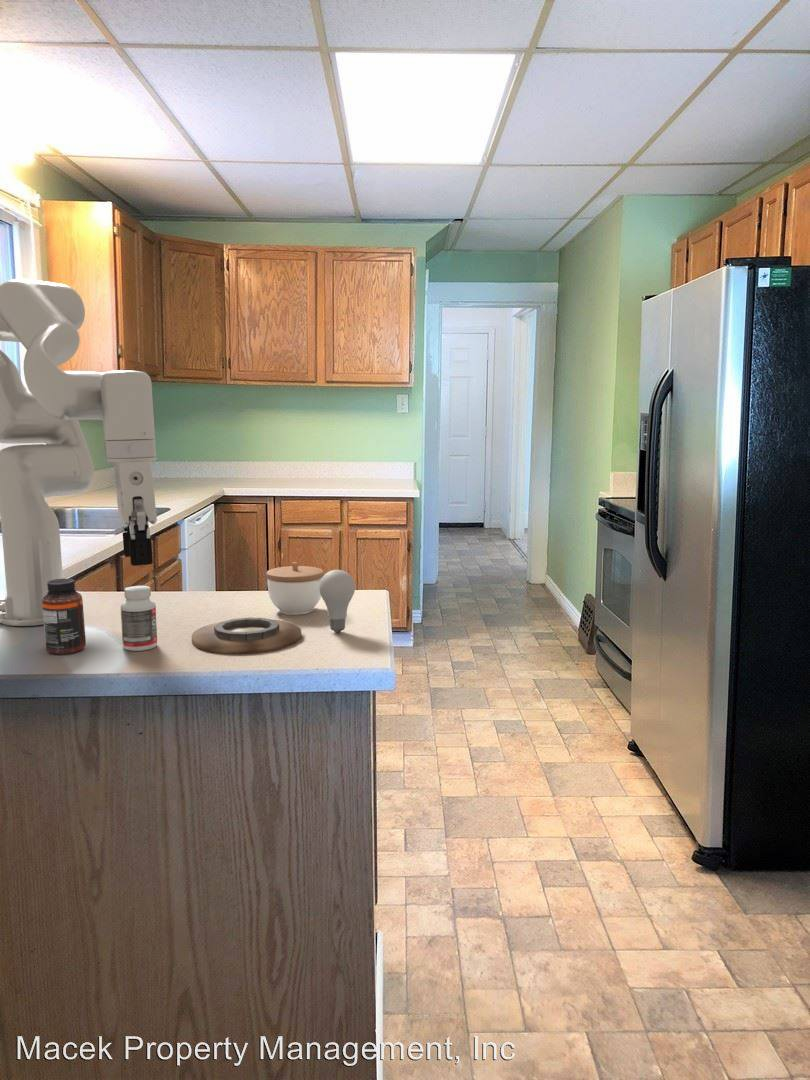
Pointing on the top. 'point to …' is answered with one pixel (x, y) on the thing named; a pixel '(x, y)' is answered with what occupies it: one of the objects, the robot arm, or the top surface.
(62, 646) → the supplement bottle
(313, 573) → the lidded jar
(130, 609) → the pill bottle
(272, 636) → the brown disc with ring
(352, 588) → the lightbulb
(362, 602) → the top surface
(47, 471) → the robot arm
